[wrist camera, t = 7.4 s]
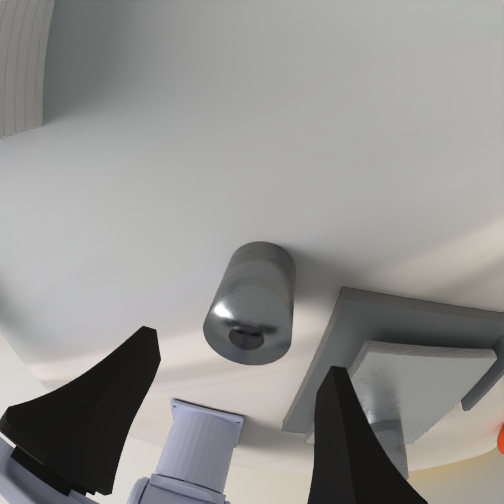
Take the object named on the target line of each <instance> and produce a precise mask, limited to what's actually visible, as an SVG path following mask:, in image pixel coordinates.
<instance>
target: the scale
mask: <svg viewBox="0 0 504 504" xmlns="http://www.w3.org/2000/svg"><path fill="white" fill-rule="evenodd" d="M366 340H371V341H380V342H389V343H398V344H409V345H420V346H433V347H447V348H466V349H493V350H494V352H495V354H496V356H497V360H496V361H495V362H494V363H493V365H492V366H491V367H490V368H489V369H488V371H487V372H486V373H485V374H484V375H483V376H482V378H481V379H480V380H479V381H478V382H477V383H476V384H475V385H474V387H473V388H472V389H471V390H470V391H469V392H468V393H467V394H466V395H465V396H464V397H463V398H462V399H461V403H462V407H463V410H464V411H467V410H470V409H471V408H472V407H473V406H474V405H475V404H476V403H477V402H478V401H479V400H480V399H481V398H482V397H483V396H484V395H485V394H486V393H487V392H488V391H489V390H490V389H491V388H492V387H493V386H494V385H495V383H496V382H497V381H498V380H499V379H500V378H501V377H502V376H503V374H504V313H500V312H493V311H486V310H480V309H473V308H466V307H460V306H453V305H447V304H441V303H434V302H428V301H422V300H416V299H410V298H404V297H398V296H392V295H386V294H380V293H374V292H369V291H363V290H357V289H351V288H346V287H342V289H341V292H340V295H339V297H338V300H337V303H336V305H335V308H334V310H333V313H332V315H331V318H330V320H329V323H328V325H327V328H326V330H325V333H324V335H323V337H322V340H321V342H320V345H319V347H318V349H317V351H316V354H315V356H314V358H313V360H312V363H311V365H310V367H309V369H308V371H307V374H306V376H305V378H304V380H303V382H302V384H301V386H300V388H299V391H298V393H297V395H296V397H295V399H294V401H293V403H292V405H291V407H290V409H289V411H288V413H287V415H286V416H285V418H284V420H283V425H282V431H287V432H295V433H305V434H306V433H307V432H308V430H309V429H310V428H311V426H312V425H313V424H314V412H315V402H316V394H317V391H318V389H319V387H320V385H321V384H322V382H323V380H324V378H325V376H326V375H327V373H328V371H329V369H330V367H331V366H338V367H346V369H347V371H348V370H349V369H350V367H351V365H352V364H353V362H354V360H355V359H356V357H357V355H358V353H359V352H360V350H361V348H362V346H363V344H364V343H365V341H366Z"/></svg>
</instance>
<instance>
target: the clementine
mask: <svg viewBox="0 0 504 504" xmlns="http://www.w3.org/2000/svg"><path fill="white" fill-rule="evenodd" d="M497 446H498V449H499V451H500V452H501V453H502V454H504V426H503V427H502V429H501V430H500V432H499V435H498V439H497Z"/></svg>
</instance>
